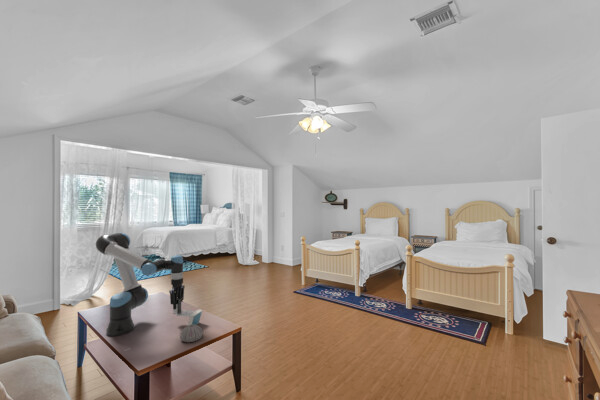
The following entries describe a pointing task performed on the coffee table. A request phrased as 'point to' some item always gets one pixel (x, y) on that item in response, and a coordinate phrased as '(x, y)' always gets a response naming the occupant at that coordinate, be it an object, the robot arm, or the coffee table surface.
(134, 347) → the coffee table surface
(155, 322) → the coffee table surface
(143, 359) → the coffee table surface
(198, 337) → the sea urchin shell
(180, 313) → the grey l-shaped block
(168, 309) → the coffee table surface
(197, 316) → the tile
